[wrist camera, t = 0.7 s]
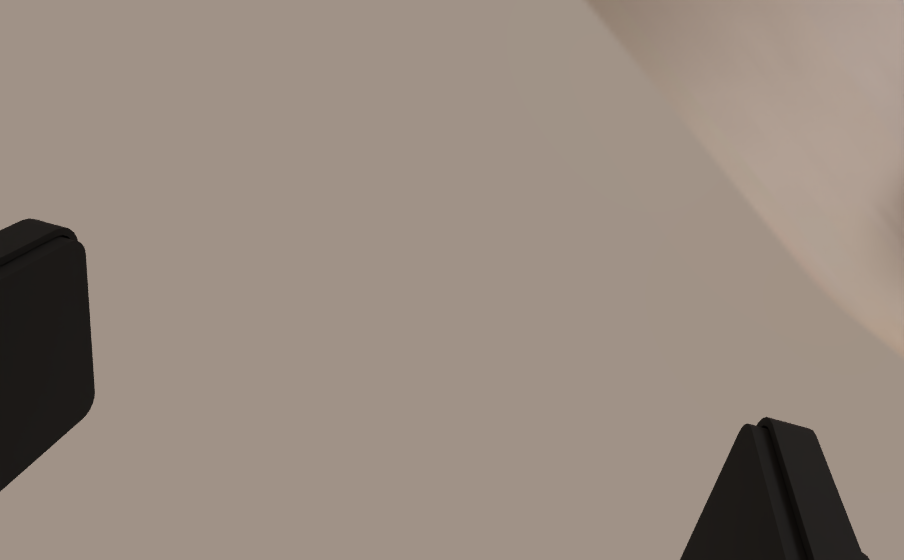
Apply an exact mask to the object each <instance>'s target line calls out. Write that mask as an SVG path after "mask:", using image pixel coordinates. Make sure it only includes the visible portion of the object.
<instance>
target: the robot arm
mask: <svg viewBox="0 0 904 560" xmlns="http://www.w3.org/2000/svg"><path fill="white" fill-rule="evenodd" d="M94 394H95V389H94V374H93V358H92V343H91V327H90V312H89V297H88V282H87V267H86V253H85V249H84V247H83V245H82V244H81V243H80V242H78V241H77V237H76V235H75V234H74V232H73V231H71V230H70V229H68V228H65V227H61V226H58V225H54V224H50V223H46V222H43V221H39V220H35V219H25V220H22V221H20V222H18V223H15V224H13V225H11V226H9V227H7V228H5V229H2V230H0V491H1V490H2V489H3V488H5V487H6V486H7V485H8V484H9V483H10V482H11V481H13V479H15V478H16V477H17V476H18V475H19V474H20V473H22V472H23V471H24V470H25V469H26V468H27V467H28V466H30V465H31V464H32V463H33V462H34V461H35V460H36V459H37V458H39V457H40V456H41V455H42V454H43V453H44V452H45V451H47V450H48V449H49V448H50V447H51V446H52V445H53V444H54V443H56V442H57V441H58V440H59V439H60V438H61V437H62V436H63V435H65V434H66V433H67V432H68V431H69V430H70V429H71V428H73V427H74V426H75V425H76V424H77V423H78V422H79V421H81V420H82V419H83V418H84V417H85V416H86V415H87V413H88V412H89V410H90V408H91V406H92V404H93V400H94ZM680 560H869V558H868V556H866V555H865V554H864V553H862V552H861V549H860V547H859V544H858V542H857V539H856V536H855V534H854V531H853V529H852V526H851V524H850V521H849V519H848V516H847V513H846V511H845V508H844V506H843V503H842V501H841V498H840V496H839V493H838V490H837V488H836V485H835V483H834V480H833V478H832V475H831V473H830V470H829V467H828V465H827V462H826V460H825V457H824V455H823V452H822V450H821V447H820V444H819V442H818V439H817V437H816V435H815V433H814V431H813V430H811V429H808V428H805V427H801V426H798V425H794V424H790V423H787V422H782V421H779V420H775V419H772V418H768V417H765V418H763V419H761V420H760V422H759V423H758V424H757V426H755V425H751V424H745V425H744V426H743V427H742V428H741V430H740V432H739V434H738V436H737V438H736V440H735V442H734V445H733V446H732V449H731V451H730V453H729V455H728V458H727V460H726V462H725V464H724V466H723V468H722V471H721V473H720V475H719V477H718V479H717V481H716V483H715V486H714V488H713V490H712V492H711V494H710V496H709V498H708V501H707V503H706V505H705V507H704V509H703V512H702V514H701V516H700V518H699V520H698V522H697V524H696V527H695V529H694V531H693V533H692V535H691V537H690V539H689V542H688V544H687V546H686V548H685V550H684V552H683V555H682V557H681V559H680Z"/></svg>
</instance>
